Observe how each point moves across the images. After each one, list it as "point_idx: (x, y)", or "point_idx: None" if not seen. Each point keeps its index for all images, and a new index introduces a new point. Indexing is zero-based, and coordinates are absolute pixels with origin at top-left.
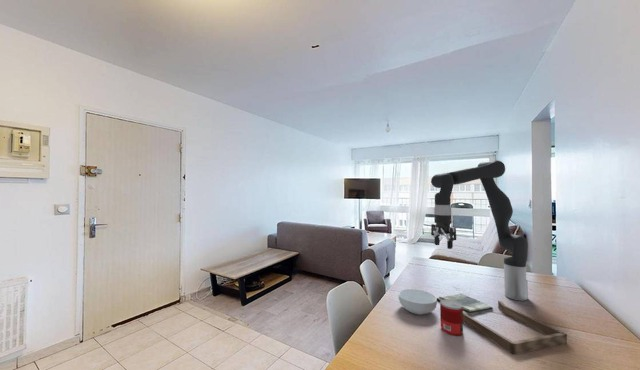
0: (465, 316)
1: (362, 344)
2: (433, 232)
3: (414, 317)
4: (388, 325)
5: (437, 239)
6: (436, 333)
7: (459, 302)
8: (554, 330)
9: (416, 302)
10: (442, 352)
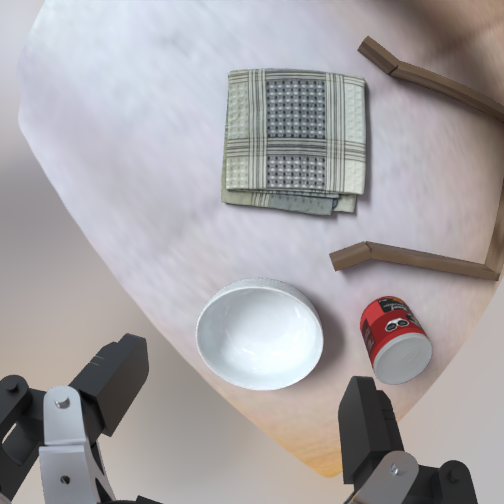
0: (390, 260)
1: (316, 457)
2: (31, 454)
3: None
4: (292, 412)
5: (115, 402)
6: None
7: (288, 149)
8: None
9: (233, 302)
10: (407, 383)
